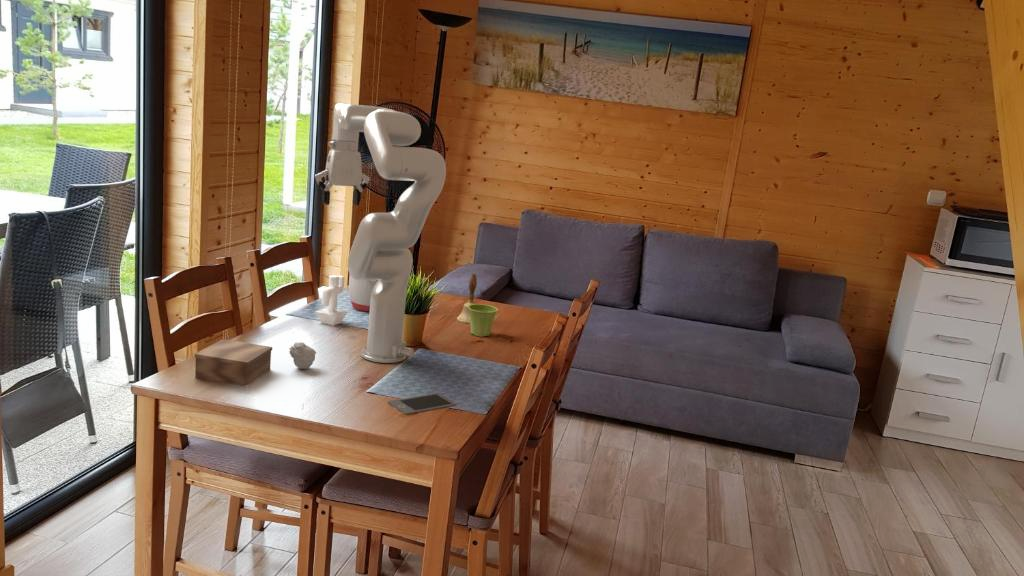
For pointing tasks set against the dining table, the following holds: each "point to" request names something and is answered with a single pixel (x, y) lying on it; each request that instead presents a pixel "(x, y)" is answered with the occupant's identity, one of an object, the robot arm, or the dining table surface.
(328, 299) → the figurine
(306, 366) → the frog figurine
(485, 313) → the plant pot
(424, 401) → the smartphone
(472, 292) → the hand bell
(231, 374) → the walnut box
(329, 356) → the dining table surface
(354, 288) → the citrus juicer
